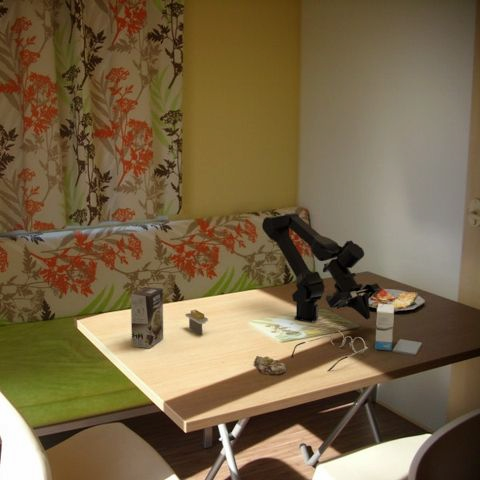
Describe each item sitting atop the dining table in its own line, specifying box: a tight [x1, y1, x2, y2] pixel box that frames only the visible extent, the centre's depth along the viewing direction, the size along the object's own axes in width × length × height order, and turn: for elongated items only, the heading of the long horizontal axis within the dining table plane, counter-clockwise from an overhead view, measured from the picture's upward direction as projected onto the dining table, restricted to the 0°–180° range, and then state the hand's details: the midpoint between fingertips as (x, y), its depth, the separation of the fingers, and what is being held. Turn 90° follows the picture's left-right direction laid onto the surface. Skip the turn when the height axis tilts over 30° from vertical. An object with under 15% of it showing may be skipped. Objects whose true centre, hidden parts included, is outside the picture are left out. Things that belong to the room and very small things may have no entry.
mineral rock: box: [253, 355, 287, 375], centre depth 191 cm, size 11×4×8 cm
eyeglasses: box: [290, 330, 369, 372], centre depth 200 cm, size 16×19×5 cm
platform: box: [185, 309, 209, 336], centre depth 219 cm, size 12×18×7 cm, turn 33°
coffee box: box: [130, 286, 164, 349], centre depth 208 cm, size 9×6×16 cm
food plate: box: [369, 286, 426, 313], centre depth 250 cm, size 25×23×4 cm
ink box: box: [374, 304, 395, 351], centre depth 208 cm, size 8×5×12 cm, turn 165°
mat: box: [392, 339, 423, 356], centre depth 207 cm, size 7×10×1 cm, turn 155°
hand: (368, 318), depth 213 cm, fingers closed
